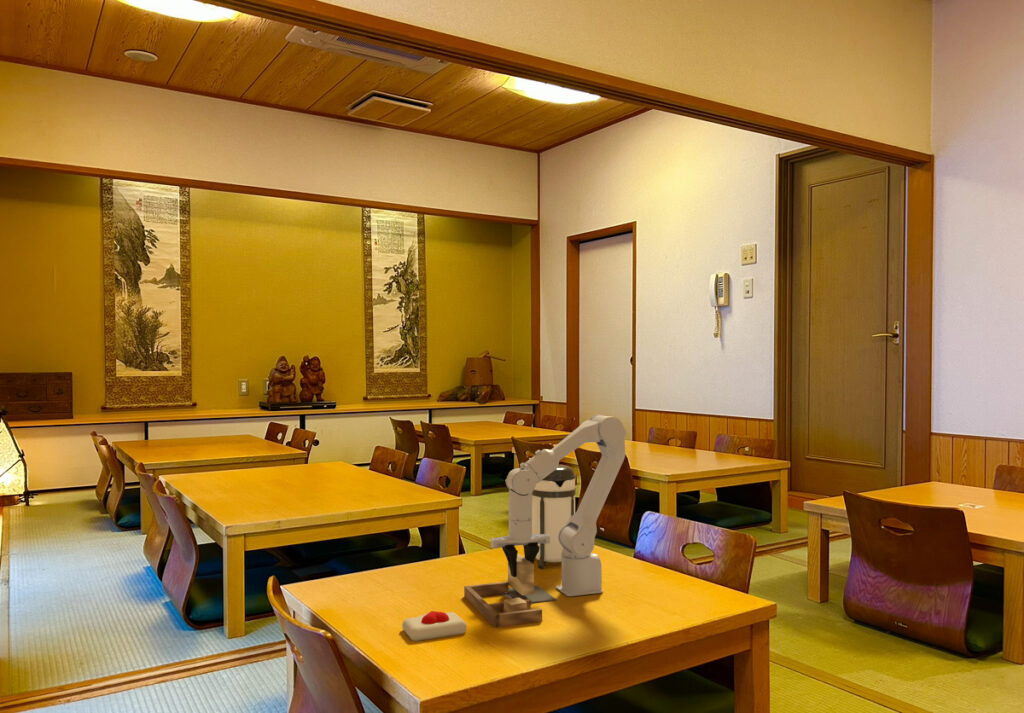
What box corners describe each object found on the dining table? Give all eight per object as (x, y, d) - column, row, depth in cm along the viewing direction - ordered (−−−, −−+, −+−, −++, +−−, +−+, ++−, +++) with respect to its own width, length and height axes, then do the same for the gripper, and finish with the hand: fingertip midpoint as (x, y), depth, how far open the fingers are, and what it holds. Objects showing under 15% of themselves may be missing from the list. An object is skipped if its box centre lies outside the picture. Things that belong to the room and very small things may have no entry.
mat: (537, 586, 193) (537, 585, 193) (556, 600, 182) (556, 599, 182) (503, 590, 190) (503, 588, 190) (520, 604, 179) (520, 603, 179)
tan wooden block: (519, 582, 191) (519, 554, 191) (533, 594, 181) (533, 564, 181) (507, 583, 190) (507, 555, 190) (522, 595, 180) (522, 565, 180)
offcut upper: (519, 606, 172) (518, 597, 172) (526, 611, 169) (526, 602, 169) (503, 608, 171) (503, 599, 171) (511, 613, 167) (511, 604, 167)
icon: (452, 601, 169) (468, 614, 160) (452, 620, 169) (468, 635, 160) (398, 608, 164) (411, 622, 155) (398, 628, 164) (411, 644, 155)
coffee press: (592, 560, 218) (592, 455, 218) (560, 572, 206) (560, 460, 206) (543, 551, 229) (542, 450, 229) (509, 562, 216) (509, 456, 217)
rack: (507, 591, 189) (507, 581, 189) (542, 621, 167) (542, 609, 167) (464, 596, 185) (464, 586, 185) (494, 627, 164) (494, 615, 164)
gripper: (542, 513, 192) (542, 568, 192) (486, 517, 187) (487, 573, 187) (553, 519, 185) (553, 575, 185) (496, 523, 180) (496, 581, 180)
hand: (520, 575), depth 185 cm, fingers closed on tan wooden block, 3 cm apart
